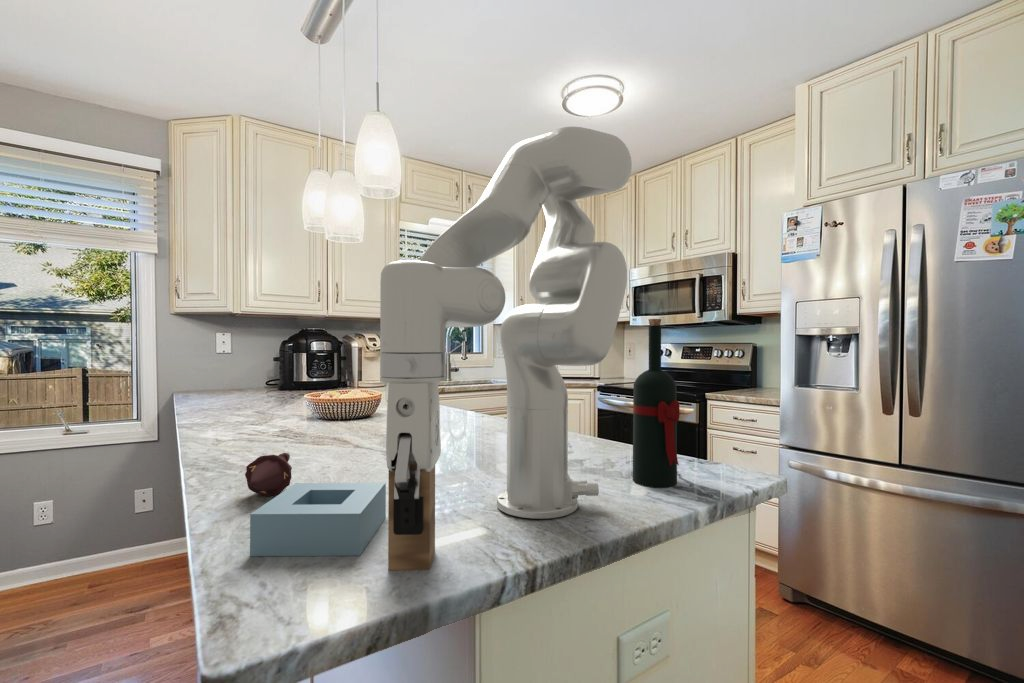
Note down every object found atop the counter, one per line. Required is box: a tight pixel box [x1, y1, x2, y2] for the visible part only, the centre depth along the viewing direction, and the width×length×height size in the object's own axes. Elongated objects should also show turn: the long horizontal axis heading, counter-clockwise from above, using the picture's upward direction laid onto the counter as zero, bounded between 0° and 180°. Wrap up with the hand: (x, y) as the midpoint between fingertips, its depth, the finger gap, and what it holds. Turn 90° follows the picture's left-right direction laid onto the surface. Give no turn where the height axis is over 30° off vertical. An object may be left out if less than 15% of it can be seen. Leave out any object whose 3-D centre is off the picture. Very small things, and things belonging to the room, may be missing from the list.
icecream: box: [244, 452, 293, 498], centre depth 82 cm, size 7×7×15 cm
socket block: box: [249, 482, 387, 557], centre depth 65 cm, size 13×13×5 cm
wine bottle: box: [632, 318, 680, 489], centre depth 89 cm, size 8×10×30 cm
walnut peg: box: [387, 458, 436, 571], centre depth 57 cm, size 5×5×12 cm
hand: (412, 523), depth 57 cm, fingers closed on walnut peg, 4 cm apart
